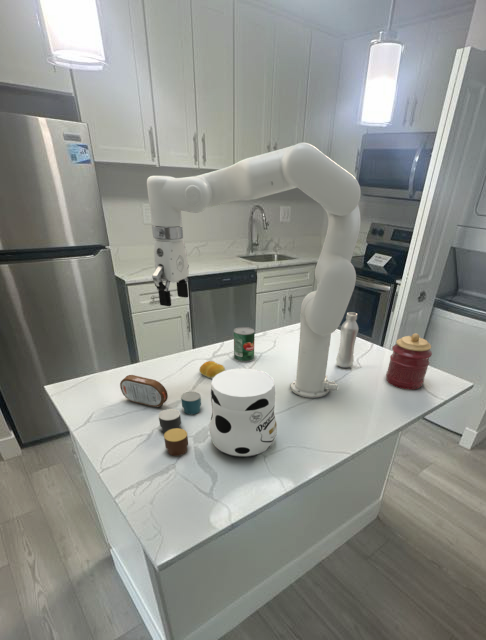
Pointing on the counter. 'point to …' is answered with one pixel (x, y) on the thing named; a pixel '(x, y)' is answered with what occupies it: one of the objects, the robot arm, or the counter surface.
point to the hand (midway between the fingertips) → (174, 301)
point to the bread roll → (211, 369)
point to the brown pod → (176, 441)
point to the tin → (143, 390)
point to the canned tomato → (244, 344)
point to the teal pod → (191, 402)
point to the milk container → (243, 412)
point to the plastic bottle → (347, 341)
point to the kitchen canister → (409, 362)
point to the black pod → (169, 419)
